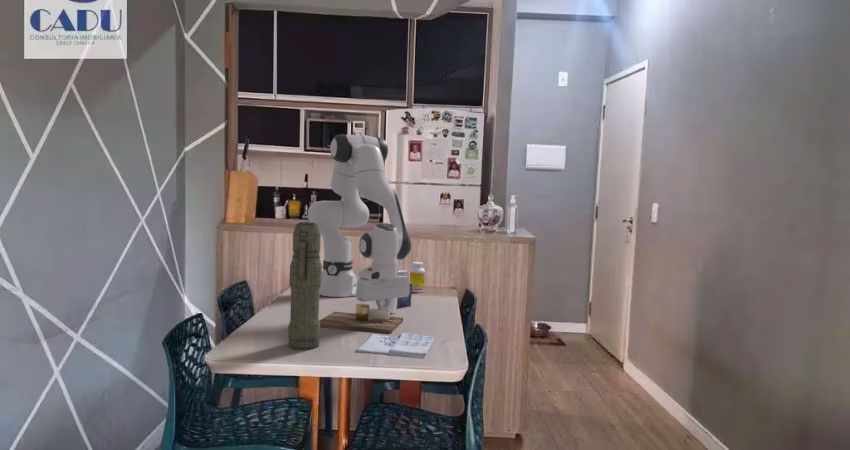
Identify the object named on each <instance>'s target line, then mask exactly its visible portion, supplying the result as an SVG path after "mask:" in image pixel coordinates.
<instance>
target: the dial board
mask: <svg viewBox="0 0 850 450" xmlns="http://www.w3.org/2000/svg"><path fill="white" fill-rule="evenodd" d="M319 322H320V328H328V329H329V328H330V329H339V330H348V331H349V330H352V331H358V330H359V332H361V331H362V332H371V333H380V334H392V333H393V332H394V331H395V330H396V329H397V328H398V327H399V326H400V325H401V324H402V323H403V322H404V317H399V316H397V317H396V316H390V317H389V320H385V319H374V318H369V320H366V321H359V320H356V312H355V313H354V312H343V311H332V312H331V313H330V314H327V315H326V316H324V317H323V318H321V319H320V320H319Z"/></svg>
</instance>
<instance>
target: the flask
mask: <svg viewBox="0 0 850 450" xmlns="http://www.w3.org/2000/svg"><path fill="white" fill-rule="evenodd" d="M409 286H410V294H409V296H408V297H401V298H397V306H396V309H402V307H403V308H407V307H411V306H412V293H413V292H412V283H410V282H409Z"/></svg>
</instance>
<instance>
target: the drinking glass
mask: <svg viewBox="0 0 850 450" xmlns="http://www.w3.org/2000/svg"><path fill="white" fill-rule="evenodd" d="M384 300H385V299H383V300H382V303H381V304H382V306H384V304H385V302H386V301H384ZM396 306H397V298H392V299H391V303H390V305H389V307H388V310H390V314H391V315H392V314H395V313H396V312H397V308H396Z"/></svg>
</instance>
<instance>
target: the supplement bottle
mask: <svg viewBox="0 0 850 450" xmlns="http://www.w3.org/2000/svg"><path fill="white" fill-rule="evenodd" d="M423 266H424V262H422V261H421V262H420V261H412V267H411V268H410V269H409V270H410V271H409V283H412V292H411V293H415V294H416V293H423V292H425V285H426V283H425V282H426V281H425V280H426V279H425V278H426V277H425V276H426V270H425V269H424V268H423Z"/></svg>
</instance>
